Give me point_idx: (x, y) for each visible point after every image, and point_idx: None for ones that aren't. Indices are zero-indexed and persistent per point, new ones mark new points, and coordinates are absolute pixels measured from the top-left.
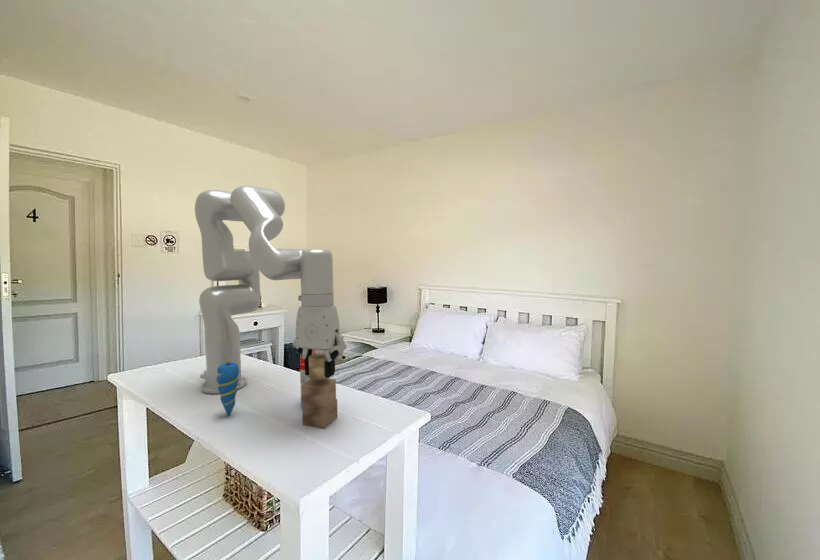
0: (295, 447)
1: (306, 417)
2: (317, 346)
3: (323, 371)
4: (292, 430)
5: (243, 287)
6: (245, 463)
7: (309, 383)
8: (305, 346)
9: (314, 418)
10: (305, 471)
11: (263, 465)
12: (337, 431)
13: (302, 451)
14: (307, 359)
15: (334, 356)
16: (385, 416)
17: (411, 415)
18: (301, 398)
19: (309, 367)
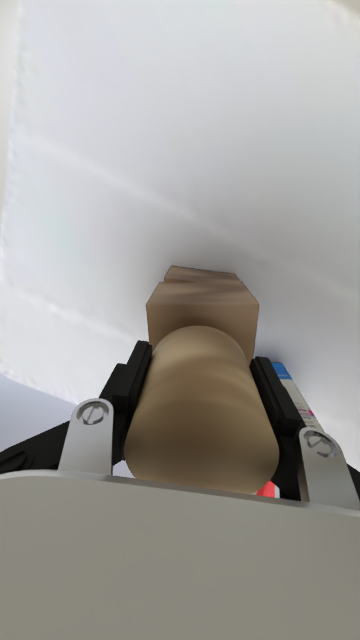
0: (197, 151)
1: (225, 277)
2: (132, 524)
3: (155, 360)
4: (249, 241)
5: None
6: (304, 6)
7: (234, 332)
8: (343, 533)
9: (198, 274)
10: (103, 21)
11: (241, 14)
12: (132, 261)
13: (168, 134)
14: (281, 427)
15: (41, 436)
16: (64, 349)
17: (16, 361)
18: (288, 375)
19: (242, 369)
